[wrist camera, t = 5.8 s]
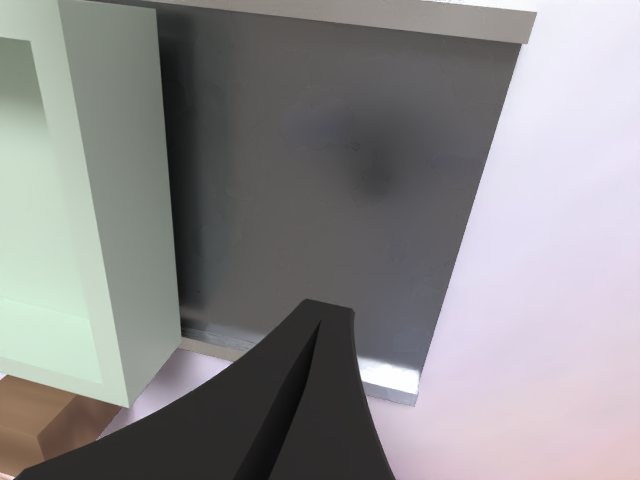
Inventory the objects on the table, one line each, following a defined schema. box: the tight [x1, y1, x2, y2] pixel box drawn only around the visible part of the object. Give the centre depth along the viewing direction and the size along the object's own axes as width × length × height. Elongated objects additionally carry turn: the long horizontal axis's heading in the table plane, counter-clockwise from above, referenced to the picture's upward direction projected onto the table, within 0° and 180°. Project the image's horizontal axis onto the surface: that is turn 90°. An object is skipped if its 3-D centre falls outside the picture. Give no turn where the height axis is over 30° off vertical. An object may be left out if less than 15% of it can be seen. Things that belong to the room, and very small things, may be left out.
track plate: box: [84, 0, 537, 407], centre depth 17 cm, size 16×28×1 cm, turn 83°
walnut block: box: [0, 374, 123, 477], centre depth 21 cm, size 4×4×6 cm
